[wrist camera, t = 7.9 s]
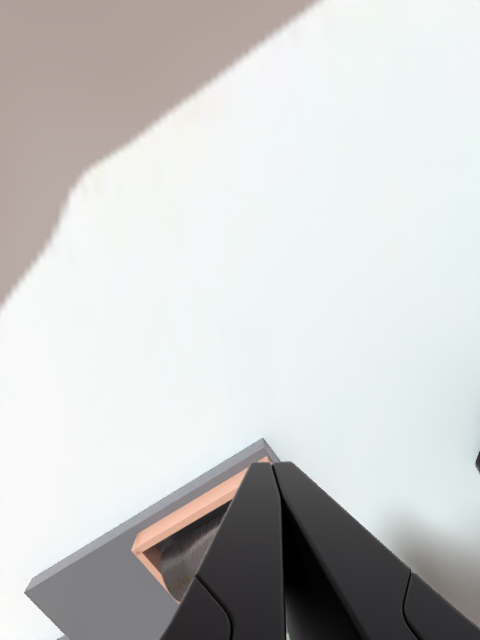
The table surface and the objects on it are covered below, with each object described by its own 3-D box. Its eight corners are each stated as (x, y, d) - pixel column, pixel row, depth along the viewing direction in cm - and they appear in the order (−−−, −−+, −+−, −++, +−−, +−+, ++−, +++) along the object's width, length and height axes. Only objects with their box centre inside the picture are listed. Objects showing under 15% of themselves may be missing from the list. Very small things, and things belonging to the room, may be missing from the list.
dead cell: (261, 477, 22) (269, 520, 19) (289, 509, 23) (299, 554, 20) (157, 539, 23) (151, 588, 20) (188, 567, 24) (185, 617, 21)
